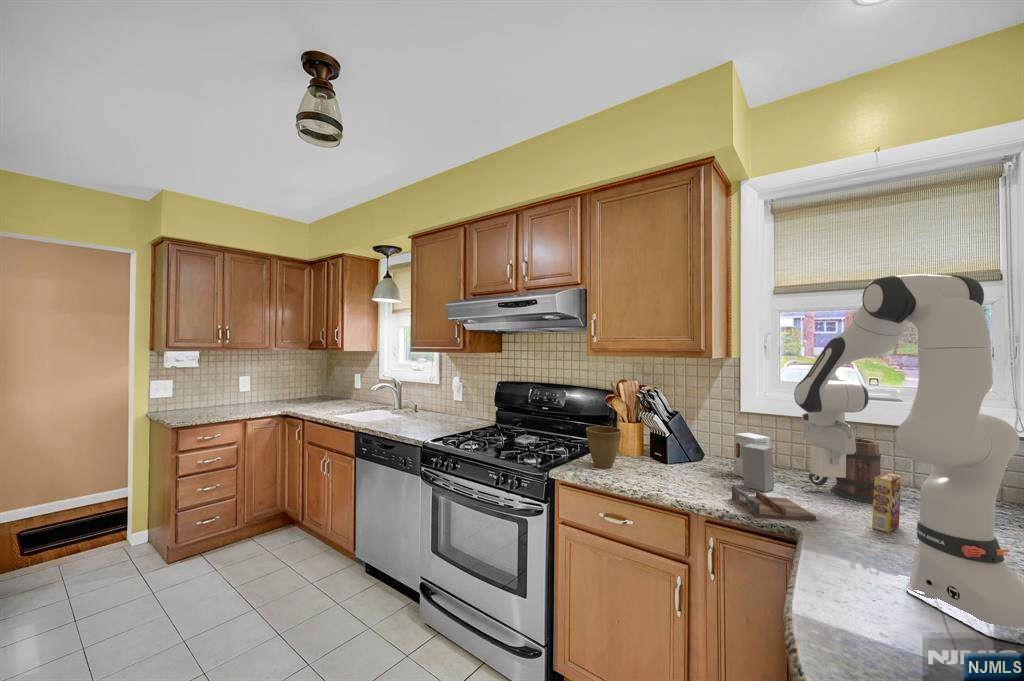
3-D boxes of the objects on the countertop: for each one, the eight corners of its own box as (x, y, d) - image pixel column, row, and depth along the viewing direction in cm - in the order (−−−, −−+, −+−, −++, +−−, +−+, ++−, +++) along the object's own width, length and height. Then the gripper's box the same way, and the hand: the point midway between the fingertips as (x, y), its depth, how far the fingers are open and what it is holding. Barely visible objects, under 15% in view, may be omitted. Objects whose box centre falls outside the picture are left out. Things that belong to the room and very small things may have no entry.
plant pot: (600, 459, 194) (600, 424, 194) (627, 467, 183) (628, 430, 183) (578, 465, 185) (578, 428, 185) (605, 473, 173) (606, 434, 173)
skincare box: (774, 490, 158) (774, 447, 158) (763, 493, 154) (764, 449, 154) (751, 483, 165) (751, 442, 165) (740, 486, 161) (741, 444, 161)
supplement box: (732, 474, 176) (733, 433, 177) (747, 472, 180) (748, 432, 181) (754, 481, 168) (755, 438, 168) (769, 478, 172) (770, 436, 172)
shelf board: (816, 520, 130) (816, 505, 130) (754, 517, 131) (754, 503, 131) (785, 501, 146) (786, 488, 146) (730, 498, 147) (731, 486, 147)
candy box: (890, 533, 122) (891, 480, 122) (871, 528, 126) (872, 476, 126) (900, 527, 127) (901, 475, 127) (882, 521, 130) (883, 471, 131)
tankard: (875, 491, 159) (876, 437, 159) (899, 507, 143) (900, 447, 143) (802, 483, 166) (802, 432, 167) (817, 497, 150) (818, 441, 151)
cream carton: (846, 477, 135) (846, 449, 135) (819, 476, 135) (819, 448, 136) (835, 473, 140) (835, 445, 140) (810, 472, 140) (810, 444, 140)
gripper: (862, 424, 127) (862, 471, 127) (817, 414, 148) (817, 454, 147) (840, 423, 128) (840, 470, 127) (798, 414, 148) (798, 454, 148)
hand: (827, 462), depth 138 cm, fingers closed on cream carton, 5 cm apart
